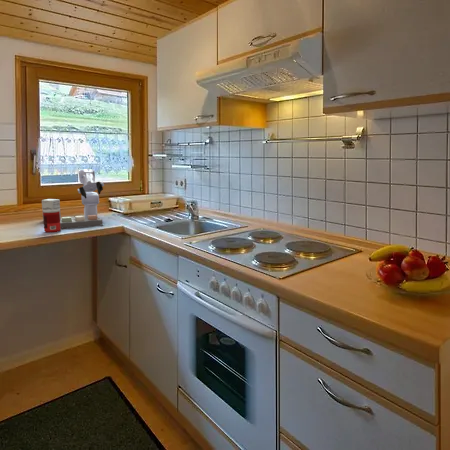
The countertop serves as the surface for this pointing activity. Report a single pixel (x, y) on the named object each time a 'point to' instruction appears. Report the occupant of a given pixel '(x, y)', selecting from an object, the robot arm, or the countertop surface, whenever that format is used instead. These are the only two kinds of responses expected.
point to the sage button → (66, 219)
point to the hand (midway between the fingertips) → (92, 194)
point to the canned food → (51, 221)
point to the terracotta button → (92, 217)
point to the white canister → (51, 205)
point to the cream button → (79, 218)
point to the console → (81, 223)
